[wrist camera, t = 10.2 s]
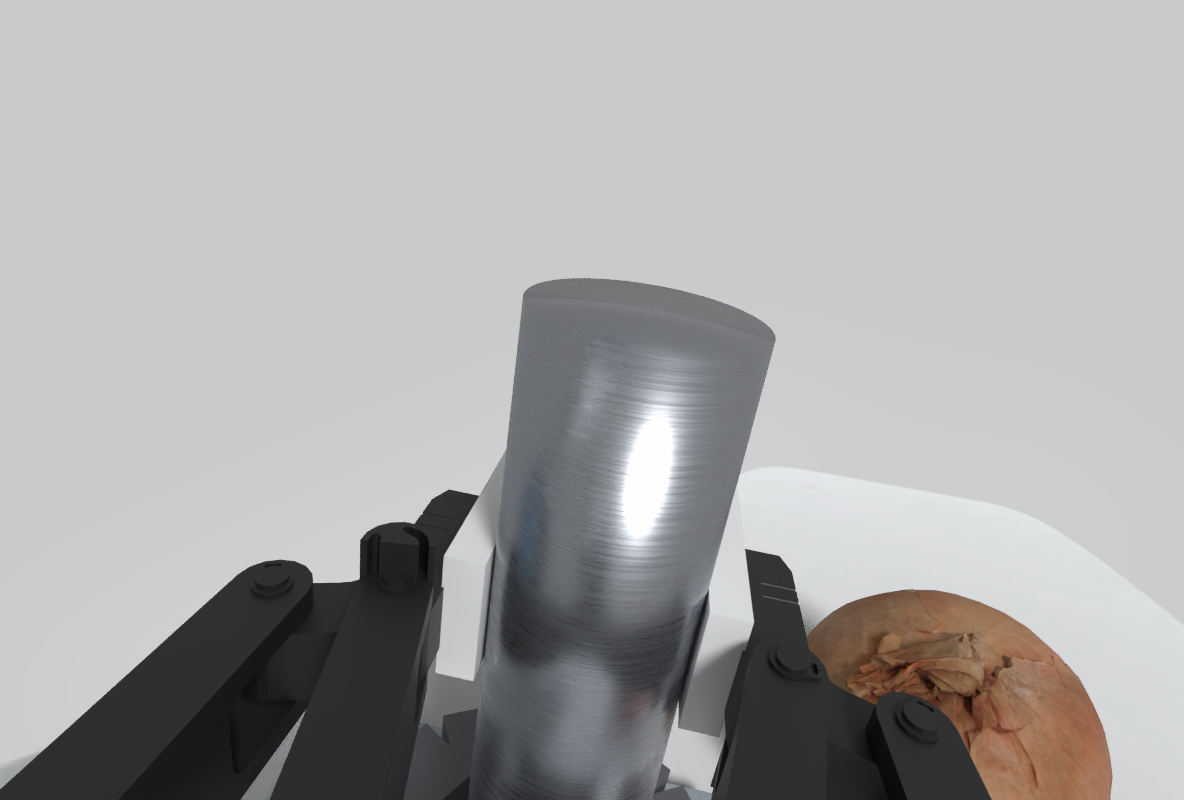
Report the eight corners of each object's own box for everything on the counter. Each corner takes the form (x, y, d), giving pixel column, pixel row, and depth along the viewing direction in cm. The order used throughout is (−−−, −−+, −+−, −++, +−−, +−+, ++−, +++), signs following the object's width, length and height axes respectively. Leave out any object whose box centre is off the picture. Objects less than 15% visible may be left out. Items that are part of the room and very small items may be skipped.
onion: (832, 965, 22) (850, 886, 15) (753, 686, 29) (743, 551, 22) (1128, 919, 21) (1278, 817, 15) (974, 646, 28) (1029, 496, 22)
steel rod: (434, 944, 14) (492, 322, 9) (487, 778, 18) (550, 267, 13) (617, 991, 14) (792, 377, 9) (633, 813, 18) (762, 305, 12)
